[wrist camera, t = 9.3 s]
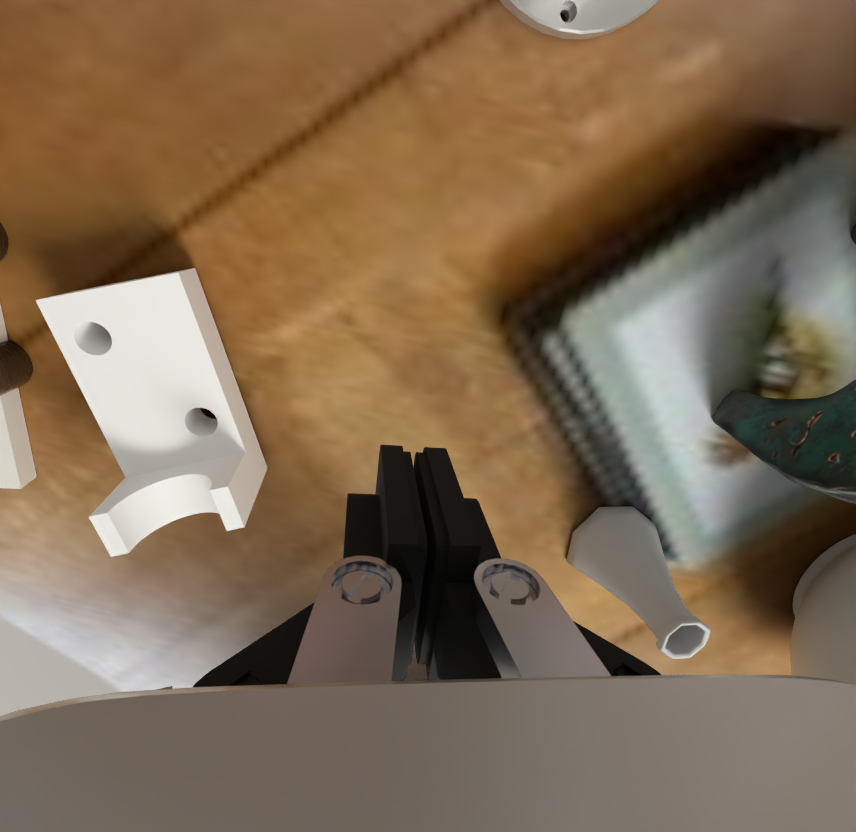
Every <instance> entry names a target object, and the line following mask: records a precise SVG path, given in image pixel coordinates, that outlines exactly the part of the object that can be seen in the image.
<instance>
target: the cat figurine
mask: <svg viewBox="0 0 856 832" xmlns="http://www.w3.org/2000/svg"><path fill="white" fill-rule="evenodd" d="M852 237H853V241H854V243H855V244H856V225H855V226H854V228H853V231H852ZM713 421H714V423H716V424H717V425H718V426H720V427H721V428H722V429H724V430H725V431H726V432H728V433H729V434H730V435H731V436H732V437H734V438H735V439H736V440H737V441H739V442H740V443H741V444H742V445H744V446H745V447H746V448H747V449H749V450H750V451H751V452H752V453H753V454H754V455H756V456H757V457H758V458H760V459H761V460H762V461H764V462H765V463H766V464H768V465H769V466H771V467H772V468H774V469H775V470H777V471H778V472H780V473H781V474H782V475H784V476H785V477H786V478H788V479H790V480H792V481H794V482H796V483H799V484H801V485H803V486H806V487H808V488H812V489H815V490H817V491H819V492H822V493H824V494H827V495H829V496H832V497H835V498H837V499H840V500H843V501H847V502H850V503H854V504H856V380H854V381H853V382H851V383H850V384H848V385H847V386H845V387H844V388H842V389H841V390H839V391H837V392H835V393H833V394H830V395H827V396H824V397H819V398H812V399H791V400H788V399H774V398H764V397H761V396H758V395H755V394H752V393H749V392H745V391H738V390H736V391H732V392H731V394H730V395H728V396H727V397H726V398H725V399H724V400H723V401H722V403H721V404H720V406H719V408H718V409H717V411H716V413H715V415H714V417H713Z"/></svg>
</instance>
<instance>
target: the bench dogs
mask: <svg viewBox="0 0 856 832" xmlns="http://www.w3.org/2000/svg"><path fill="white" fill-rule="evenodd" d="M7 250H8V238H7V234H6V232H5V230H4V228H3V226H2V225H1V223H0V261H1V260H2V259H3V258H4V257H5V255H6V253H7ZM32 372H33V366H32V362H31V360H30V358H29V356H28V355H27V353H26V352H25V351H24V350H23V349H22V348H21V347H20V346H18V345H17V344H15V343H13V342H11V341H9V340H8V341H5V342H1V343H0V396H1V395H3V394H5V393H7V392H10V391H12V390H14V389H16V388H18V387H20V386H22V385H24V384H26V383H27V382H28V381H29V380H30V378H31V376H32Z"/></svg>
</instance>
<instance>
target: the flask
mask: <svg viewBox="0 0 856 832" xmlns="http://www.w3.org/2000/svg"><path fill="white" fill-rule="evenodd" d="M567 562H568V563H569V564H571V565H572V566H573V567H575V568H576V569H578V570H579V571H581V572H582V573H583V574H585V575H586V576H588V577H589V578H590V579H592V580H593V581H595V582H596V583H598V584H599V585H600V586H602V587H603V588H605V589H606V590H608V591H609V592H611V593H612V594H613V595H615V596H616V597H617V598H619V599H620V600H621V601H623V602H624V603H625V604H627V605H628V606H629V607H630V608H631V609H632V610H633V611H634V612H635V613H636V614H637V615H638V616H639V617H640V618H641V619H642V620H643V621H644V622H645V623H646V624H647V625H648V626H649V628H650V629H651V630H652V632H653V633H654V635H655V636H656V638H657V640H658V641H657V647H658V649H659V650H660V651H661V652H662V653H664V654H665V655H667V656H668V657H670V658H671V659H679V658H690V657H692V656H693V655H694V654H695V653H697V652H698V651H699V650H700V649H702V648H703V647H704V646H705V645H706V643H707V640H708V638H709V635H710V632H711V629H710V628H709V627H708V626H707V625H706V624H704V623H703V622H702V621H700V620H699V619H698V618H696V617H695V616H693V615H692V614H691V613H690V611H689V610H688V609H687V608H686V606H685V604H684V602H683V601H682V599H681V597H680V595H679V594H678V592H677V590H676V588H675V586H674V584H673V581H672V578H671V575H670V572H669V569H668V566H667V563H666V560H665V557H664V554H663V551H662V547H661V544H660V540H659V537H658V533H657V530H656V527H655V524H653V523H652V522H651V521H650V520H649V519H647V518H646V517H645V516H644V515H643V514H641V513H640V512H639V511H638V510H637V509H635V508H634V507H599V508H598V509H597V510H596V511H594V512H593V513H592V514H591V515H590V516H589V517H588V518H587V519H586V520H585V521H584V522H583V523H582V524H581V525H580V526H579V527H578V528H577V529H576V530H575V531H573V534H572V538H571V543H570V547H569V552H568V557H567Z"/></svg>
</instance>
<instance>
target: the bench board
mask: <svg viewBox="0 0 856 832" xmlns="http://www.w3.org/2000/svg"><path fill="white" fill-rule="evenodd" d="M5 341H8V337H7V332H6V327H5V323H4V318H3V313H2V308H1V304H0V343H1V342H5ZM36 477H37V475H36V471H35V466H34V461H33V456H32V451H31V447H30V442H29V437H28V432H27V428H26V423H25V418H24V413H23V409H22V404H21V399H20V394H19V389H18V388H16V389H14V390H12V391H10V392H7V393H5V394H3V395H1V396H0V488H14V489H21V488H23V487H24V486H25V485H27V484H28V483H29V482H30V481H32V480H33V479H34V478H36Z"/></svg>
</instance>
